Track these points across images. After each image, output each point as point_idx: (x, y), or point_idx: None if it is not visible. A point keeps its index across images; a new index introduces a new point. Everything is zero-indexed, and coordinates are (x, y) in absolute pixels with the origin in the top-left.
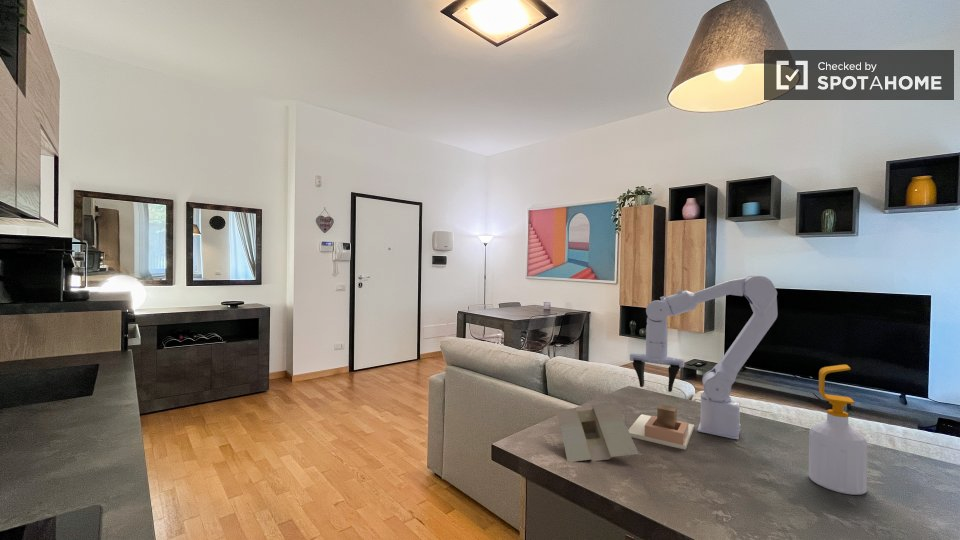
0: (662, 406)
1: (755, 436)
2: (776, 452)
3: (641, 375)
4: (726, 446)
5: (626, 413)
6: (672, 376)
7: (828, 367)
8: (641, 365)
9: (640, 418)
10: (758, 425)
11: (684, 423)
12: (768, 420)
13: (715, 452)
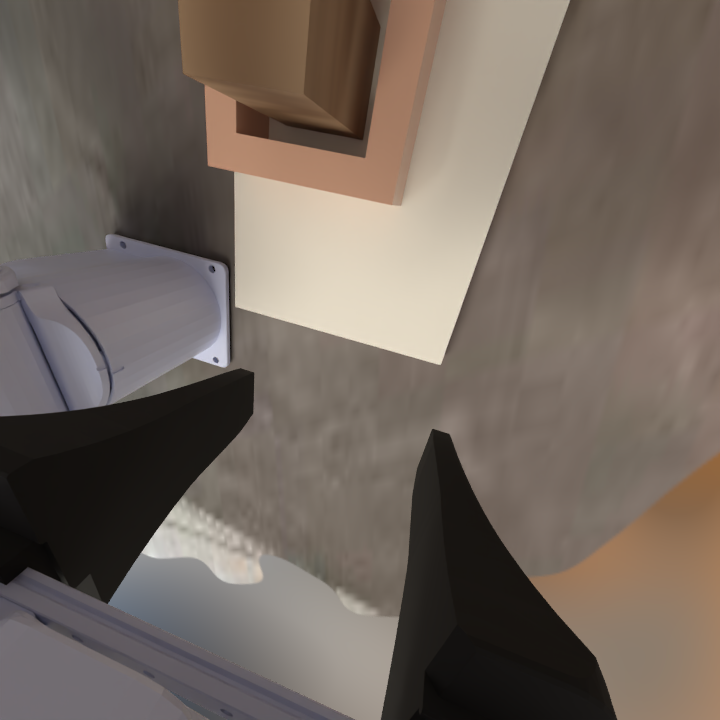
0: (281, 10)
1: None
2: (11, 167)
3: (438, 503)
4: (125, 136)
5: (506, 392)
6: (111, 413)
7: None
8: (436, 643)
9: (450, 300)
10: None
11: (221, 136)
12: None
13: (139, 11)
